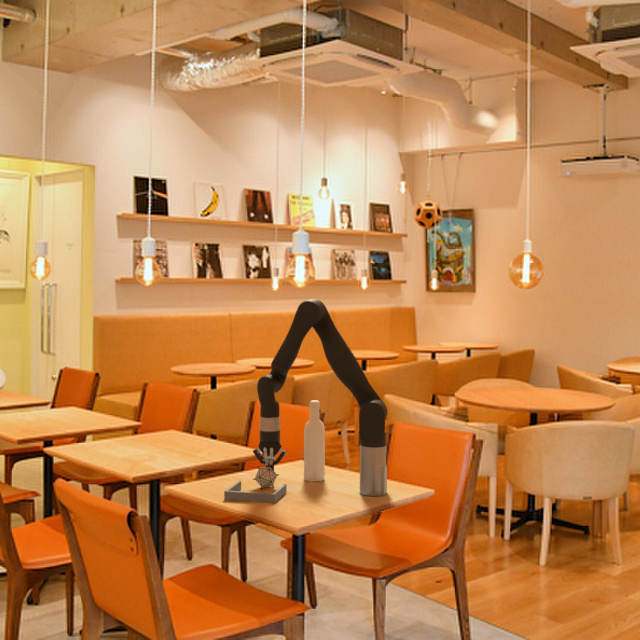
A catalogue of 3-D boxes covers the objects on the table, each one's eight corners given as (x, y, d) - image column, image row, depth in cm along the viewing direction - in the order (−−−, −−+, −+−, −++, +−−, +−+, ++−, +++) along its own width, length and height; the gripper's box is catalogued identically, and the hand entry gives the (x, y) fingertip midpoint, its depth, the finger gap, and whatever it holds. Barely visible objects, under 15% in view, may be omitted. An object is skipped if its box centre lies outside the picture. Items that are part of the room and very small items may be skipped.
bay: (286, 492, 299) (286, 484, 299) (274, 503, 284) (274, 494, 284) (238, 489, 303) (238, 480, 303) (224, 499, 289) (224, 491, 288)
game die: (270, 498, 304) (277, 480, 299) (248, 490, 304) (255, 472, 299) (276, 481, 312) (283, 463, 306) (254, 473, 312) (261, 455, 306)
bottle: (319, 483, 313) (319, 403, 312) (300, 480, 316) (300, 401, 315) (328, 478, 320) (328, 400, 319) (309, 476, 324) (310, 398, 322)
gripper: (289, 427, 311) (289, 474, 312) (255, 426, 314) (255, 472, 315) (284, 431, 304) (284, 478, 305) (249, 429, 307) (249, 476, 308)
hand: (269, 475), depth 310 cm, fingers closed
